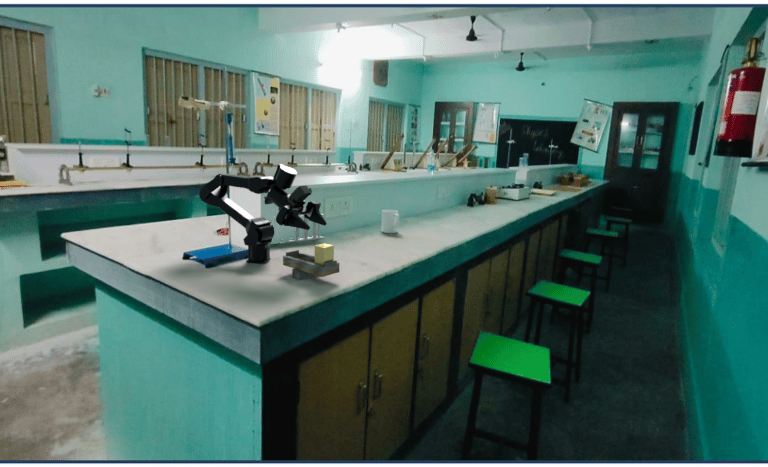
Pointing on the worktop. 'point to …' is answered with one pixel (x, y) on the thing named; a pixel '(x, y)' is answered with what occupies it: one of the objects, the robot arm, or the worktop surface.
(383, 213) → the mug
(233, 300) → the worktop surface
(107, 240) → the worktop surface
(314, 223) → the test tube rack
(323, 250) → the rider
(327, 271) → the grey open tray
